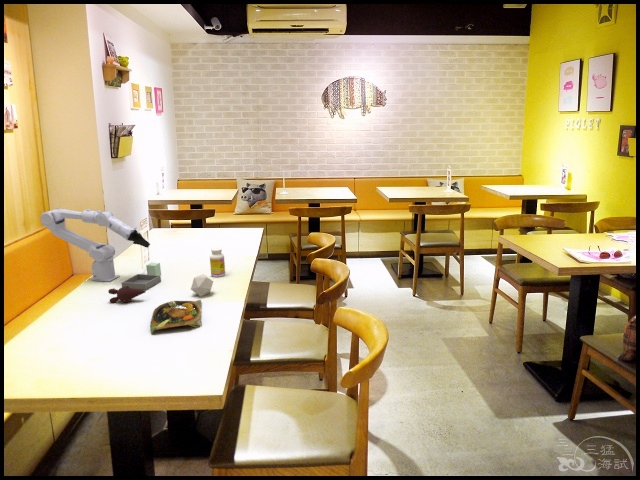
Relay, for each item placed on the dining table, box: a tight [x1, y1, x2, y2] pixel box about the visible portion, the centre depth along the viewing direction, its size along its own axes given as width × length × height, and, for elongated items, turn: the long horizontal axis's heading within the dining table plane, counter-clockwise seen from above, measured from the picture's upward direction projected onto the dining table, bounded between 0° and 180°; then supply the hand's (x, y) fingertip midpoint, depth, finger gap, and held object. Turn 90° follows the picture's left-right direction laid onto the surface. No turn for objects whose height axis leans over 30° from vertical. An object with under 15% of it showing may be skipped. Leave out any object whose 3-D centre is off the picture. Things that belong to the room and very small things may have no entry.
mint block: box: [145, 262, 162, 276], centre depth 234 cm, size 4×4×6 cm
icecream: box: [107, 285, 147, 304], centre depth 202 cm, size 7×7×15 cm
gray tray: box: [120, 273, 162, 292], centre depth 222 cm, size 12×12×3 cm
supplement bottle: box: [209, 247, 226, 278], centre depth 232 cm, size 7×7×13 cm
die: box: [190, 273, 214, 297], centre depth 208 cm, size 8×9×10 cm
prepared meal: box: [149, 299, 203, 335], centre depth 186 cm, size 28×4×18 cm
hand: (147, 244), depth 226 cm, fingers open, 7 cm apart
